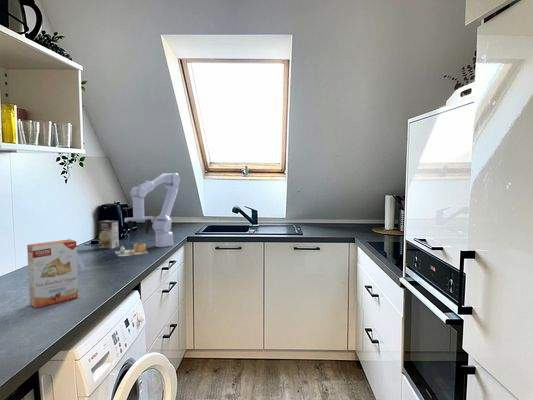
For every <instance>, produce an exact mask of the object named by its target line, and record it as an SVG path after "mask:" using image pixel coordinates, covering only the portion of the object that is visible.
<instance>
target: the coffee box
mask: <svg viewBox="0 0 533 400" xmlns="http://www.w3.org/2000/svg"><path fill="white" fill-rule="evenodd" d="M97 224H98V246H99V247H98V249H115V248H119V246H120V244H119V242H120V239H119V220H109V219H105V220H99V221H98V223H97Z"/></svg>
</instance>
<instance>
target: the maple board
mask: <svg viewBox="0 0 533 400" xmlns="http://www.w3.org/2000/svg"><path fill="white" fill-rule="evenodd" d="M125 251H127V252H130V253H129V254H125V255H117V257H126V256H135V255H143V254H144V255H145V254H149V252H148V251H147V250H146V251H145V252H134V248H133V249H125ZM117 252H121V250H118V251H117V250H115V251H114V254H115V253H117Z"/></svg>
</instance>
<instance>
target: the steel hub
mask: <svg viewBox="0 0 533 400" xmlns="http://www.w3.org/2000/svg"><path fill="white" fill-rule="evenodd" d="M119 249H120V250H119V251H121V253H125V250H126V249H125V246H124V245H121V246H120V248H119Z"/></svg>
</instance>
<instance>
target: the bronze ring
mask: <svg viewBox="0 0 533 400" xmlns="http://www.w3.org/2000/svg"><path fill="white" fill-rule="evenodd" d="M146 247H147V244H146V243H145V242H136V243H134V244H133V249H134V252H145V251H147V248H146Z"/></svg>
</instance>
